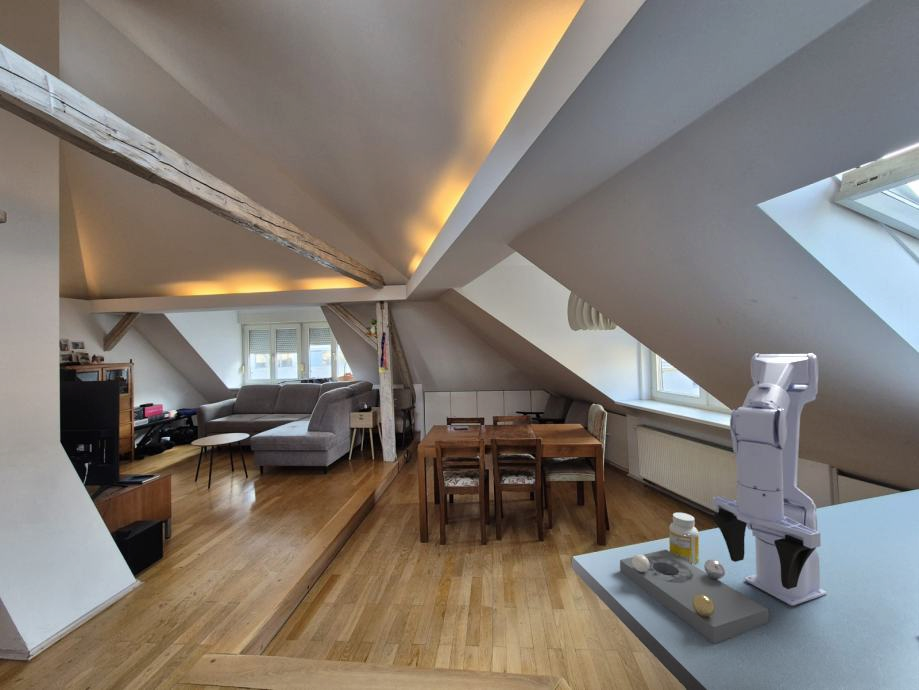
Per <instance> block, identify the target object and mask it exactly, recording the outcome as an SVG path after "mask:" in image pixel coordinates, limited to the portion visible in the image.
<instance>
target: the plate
mask: <svg viewBox="0 0 919 690" xmlns="http://www.w3.org/2000/svg"><path fill="white" fill-rule="evenodd" d="M643 555H644V556H645V557H646V558H647V559H648V561H649V564H650V566H649V569H648V570H647V571H646V572H640V571H638V570H636V569H635V568H634V566H633V563H632V559H633V557H634V556H631V557H627V558H622V559H620V560H619V571H620V573H621V574H623V575H624V576H625V577H627V578H628V579H629V580H630V581H632V582H633V583H634V584H636V585H637V586H638V587H640V589H642V590H643V591H644V592H646V593H647V594H648V595H650V596H651V597H652V598H653V599H654V600H656V601H657V602H659V603H660V604H661V605H663V606H664V607H665V608H666V609H668V610H669V611H671V612H672V613H673V614H674V615H676V616H677V617H678V618H680V619H681V620H682V621H684V622H685V623H686V624H688V625H689V626H690V627H692V628H693V629H694V630H696V631H697V632H698V633H699V634H701V635H702V636H703V637H705V638H706V639H707V640H709V642H711V643H713V644H718V643H720V642H723V641H727V640H729V639H733V638H734V637H736V636H739V635H742V634H745V633H746V632H749V631H751V630H753V629H756V628H758V627H761V626H764V625H765V624H768V623H769V622H770V621H769V608H767V607H765V606H764V605H762V604H760V603H758V602H757V601H755V600H753V599H751V598H750V597H748V596H746V595H745V594H743V593H742V592H739V591H738V590H736V589H734V588H732V587H731V586H730V585H727V584H726V583H724V582H722V581H721V580H720V579H713V578H711V577H710V576H709V575H708V574H707V573H706V571H705V570H704V571H703V570H702V569H700V568H698V567H697V566H696V565H692V564H690V563H688V562H687V561H685V560H683V559H681V558H680V557H678V556H676V555H675V554H673V553H671V552H670V550H668V549H662V550H658V551H653V552H648V553H643ZM667 573H668V575H667ZM670 574H671V575H670ZM698 594H703V595H706V596H707V597H709V598H710V599H711V600H712V602H713V604H714V607H715V611H714V614H713V615H712V616H710V617H704V616H701V615H700V614H698V613H697V612H696V611H695V609H694V607H693V603H692V601H693V598H694V596H696V595H698Z"/></svg>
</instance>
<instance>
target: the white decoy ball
mask: <svg viewBox="0 0 919 690" xmlns="http://www.w3.org/2000/svg"><path fill="white" fill-rule="evenodd" d="M632 557H633V559H632V563H633V566H634V568H635V569H636V570H638V571H640V572H646V571H647V570H648V569H649V566H650V564H649V561H648V559H647V558H646V557H645V556H644V554H641V553H637V554H635V555H634V556H632Z"/></svg>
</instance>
